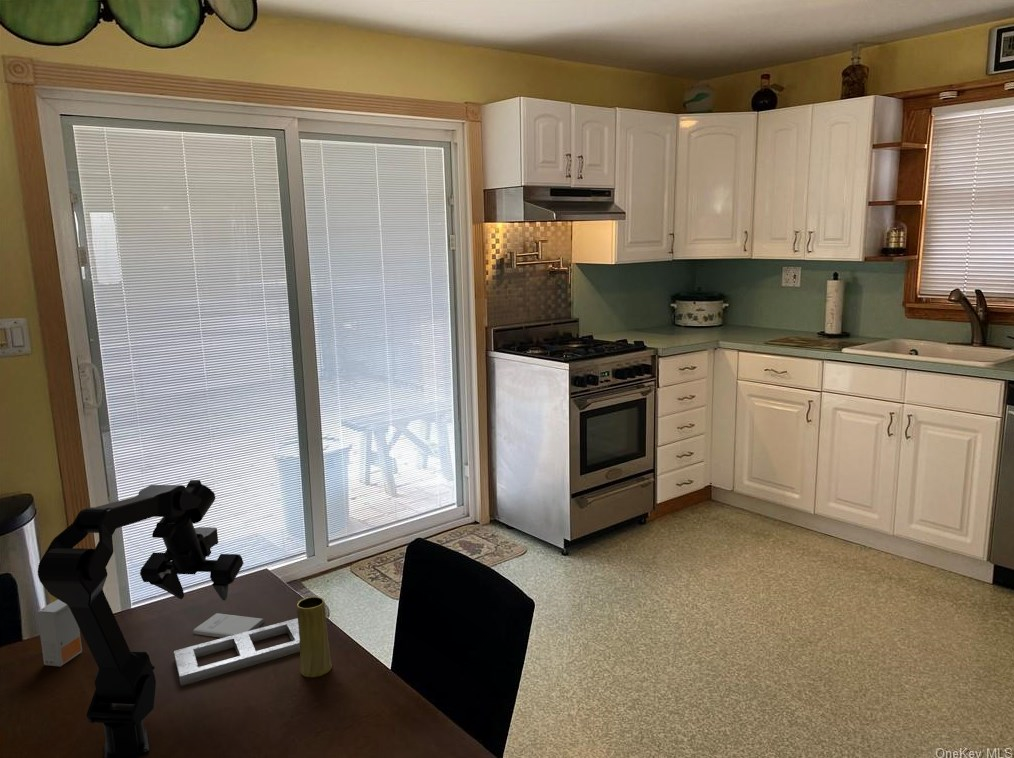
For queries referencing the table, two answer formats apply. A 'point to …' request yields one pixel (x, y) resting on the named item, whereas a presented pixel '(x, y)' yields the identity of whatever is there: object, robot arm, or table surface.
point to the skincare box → (58, 634)
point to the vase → (313, 637)
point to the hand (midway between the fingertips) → (203, 598)
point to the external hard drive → (227, 625)
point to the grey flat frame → (243, 647)
